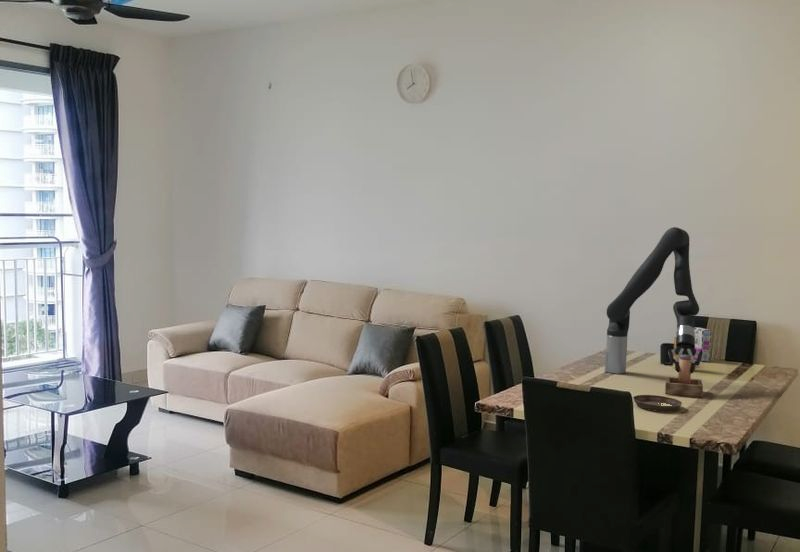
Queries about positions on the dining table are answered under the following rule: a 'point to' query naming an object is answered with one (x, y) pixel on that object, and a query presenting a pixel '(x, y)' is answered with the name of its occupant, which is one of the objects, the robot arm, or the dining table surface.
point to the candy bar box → (702, 343)
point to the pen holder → (665, 353)
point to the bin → (684, 387)
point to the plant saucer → (653, 401)
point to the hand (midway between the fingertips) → (684, 371)
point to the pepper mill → (684, 369)
